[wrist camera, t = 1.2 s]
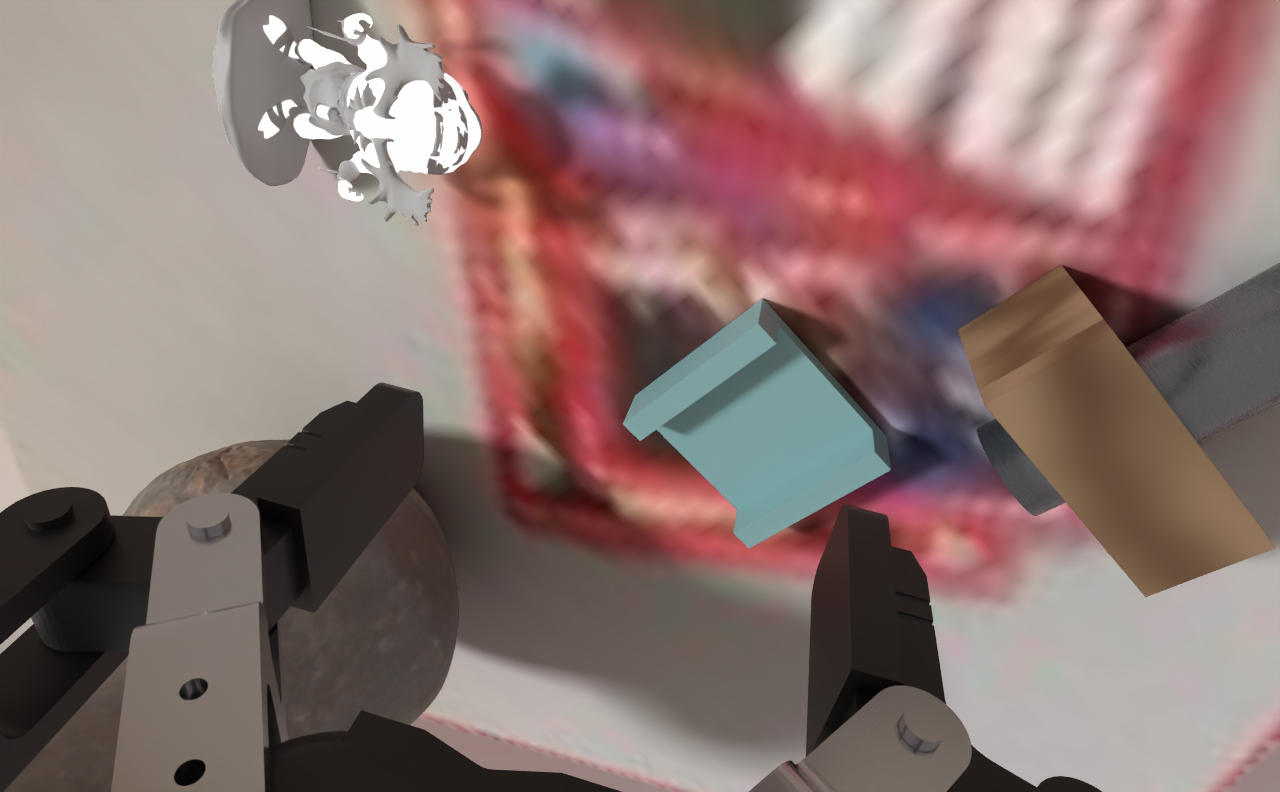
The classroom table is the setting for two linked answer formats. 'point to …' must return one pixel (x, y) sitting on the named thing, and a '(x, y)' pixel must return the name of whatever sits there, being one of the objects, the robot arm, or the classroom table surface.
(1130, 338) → the classroom table surface
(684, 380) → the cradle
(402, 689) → the vase
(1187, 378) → the axle
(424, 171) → the figurine
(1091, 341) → the brown notched block
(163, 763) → the robot arm
